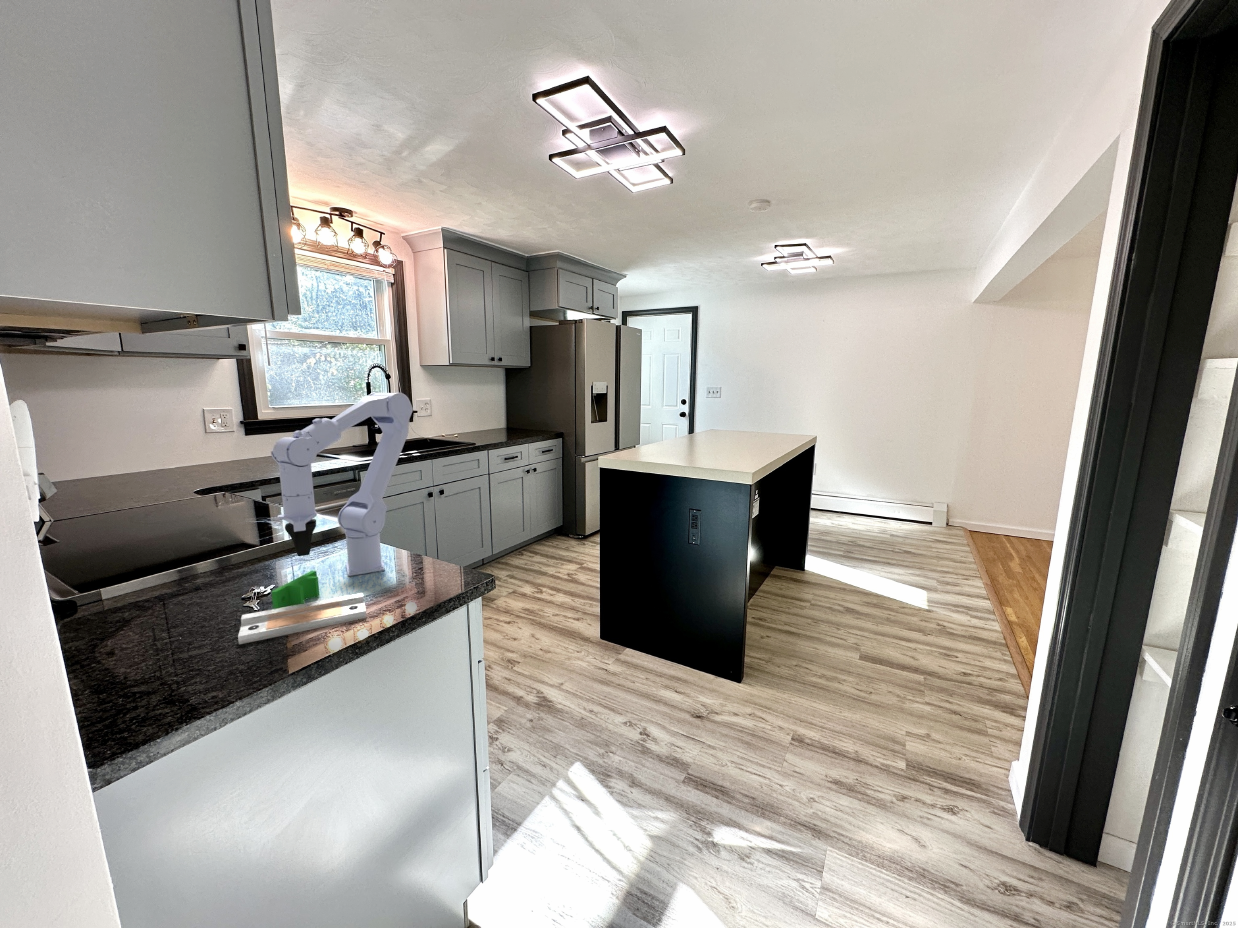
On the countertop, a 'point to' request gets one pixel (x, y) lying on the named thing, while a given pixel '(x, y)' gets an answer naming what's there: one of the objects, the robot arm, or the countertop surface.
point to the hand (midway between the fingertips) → (303, 554)
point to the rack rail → (301, 617)
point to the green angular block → (296, 591)
